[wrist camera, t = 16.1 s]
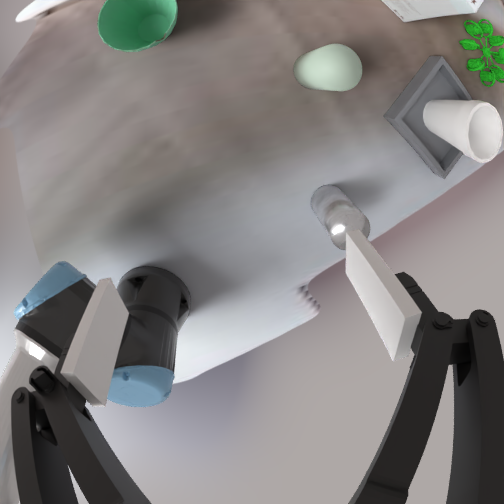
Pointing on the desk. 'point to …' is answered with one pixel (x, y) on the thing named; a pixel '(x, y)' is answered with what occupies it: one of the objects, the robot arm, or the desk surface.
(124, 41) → the mug
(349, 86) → the sage canister
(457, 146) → the foam cup
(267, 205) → the desk surface
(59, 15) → the desk surface
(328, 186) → the steel canister
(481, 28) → the green leafy sprig
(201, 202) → the desk surface
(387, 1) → the supplement box
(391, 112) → the tray
